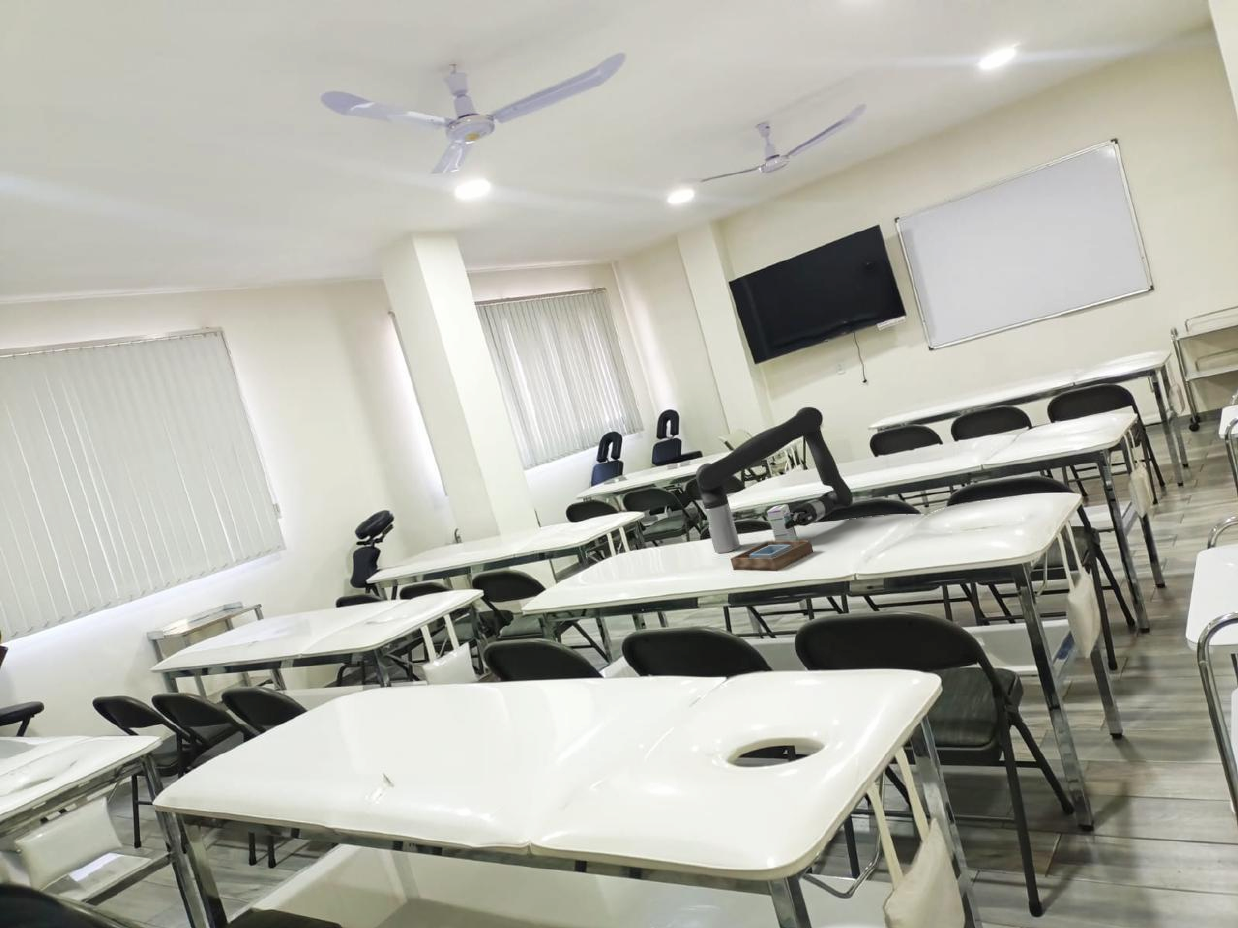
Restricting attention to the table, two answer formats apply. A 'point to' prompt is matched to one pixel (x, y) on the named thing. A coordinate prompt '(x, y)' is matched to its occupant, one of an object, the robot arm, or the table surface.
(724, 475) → the robot arm
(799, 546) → the walnut tray
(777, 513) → the syrup box
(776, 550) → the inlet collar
